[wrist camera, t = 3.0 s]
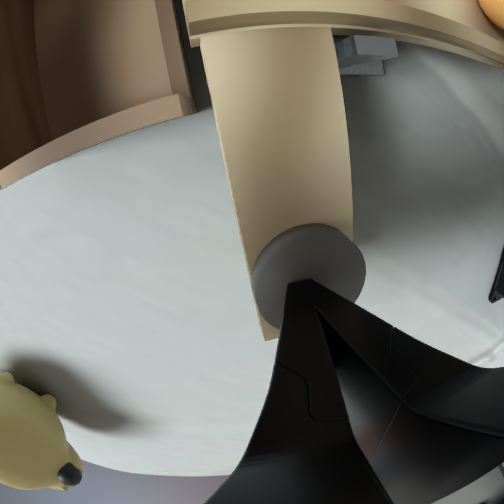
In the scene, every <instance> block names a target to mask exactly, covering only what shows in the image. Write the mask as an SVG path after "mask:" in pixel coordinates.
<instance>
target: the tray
mask: <svg viewBox="0 0 504 504" xmlns="http://www.w3.org/2000/svg"><path fill="white" fill-rule="evenodd" d="M195 113H197V112H196V108H195V103H194V98H193V94H192V89H191V84H190V79H189V75H188V70H187V65H186V60H185V55H184V50H183V45H182V40H181V35H180V30H179V24H178V19H177V14H176V8H175V3H174V0H0V190H2V189H4V188H6V187H7V186H9V185H11V184H13V183H14V182H16V181H18V180H20V179H22V178H24V177H26V176H28V175H30V174H32V173H34V172H36V171H38V170H40V169H42V168H44V167H46V166H48V165H50V164H52V163H54V162H56V161H59V160H61V159H63V158H65V157H68V156H70V155H72V154H74V153H77V152H79V151H81V150H84V149H86V148H89V147H91V146H94V145H96V144H99V143H102V142H104V141H107V140H110V139H112V138H115V137H118V136H121V135H124V134H126V133H129V132H132V131H135V130H138V129H142V128H145V127H148V126H151V125H155V124H158V123H161V122H165V121H168V120H172V119H176V118H180V117H183V116H187V115H191V114H195Z"/></svg>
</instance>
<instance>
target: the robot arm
mask: <svg viewBox="0 0 504 504" xmlns="http://www.w3.org/2000/svg"><path fill="white" fill-rule="evenodd" d="M501 298H504V250H503V254H502V258H501V262H500V265H499V268H498V272H497V275H496V278H495V281H494V285H493V288H492V290H491V293H490V296H489V301H490V302H491V303H494V302H496V301H498V300H500V299H501ZM204 504H504V367H500V368H482V367H478V366H474V365H472V364H469V363H467V362H465V361H462V360H460V359H458V358H456V357H453V356H451V355H449V354H447V353H444V352H442V351H440V350H438V349H435V348H433V347H431V346H429V345H427V344H425V343H423V342H421V341H419V340H417V339H415V338H413V337H412V336H410V335H408V334H406V333H404V332H403V331H401V330H399V329H397V328H396V327H394V328H393V326H392V325H390V324H389V323H387V322H385V321H384V320H382V319H380V318H378V317H377V316H375V315H373V314H372V313H370V312H368V311H366V310H365V309H363V308H361V307H360V306H358V305H356V304H354V303H353V302H351V301H349V300H348V299H346V298H344V297H342V296H341V295H339V294H337V293H335V292H334V291H332V290H330V289H329V288H327V287H325V286H323V285H322V284H320V283H318V282H316V281H315V280H313V279H311V278H308V279H304V280H300V281H296V282H292V283H288V284H287V289H286V295H285V302H284V308H283V315H282V321H281V327H280V333H279V339H278V345H277V351H276V357H275V364H274V367H273V373H272V378H271V382H270V386H269V390H268V394H267V397H266V400H265V403H264V406H263V409H262V411H261V414H260V416H259V419H258V422H257V424H256V427H255V429H254V432H253V434H252V437H251V439H250V442H249V444H248V446H247V449H246V451H245V453H244V455H243V457H242V459H241V461H240V462H239V464H238V466H237V467H236V469H235V470H234V471H233V472H232V474H231V475H230V476H229V477H228V478H227V479H226V480H225V481H224V483H223V484H222V485H221V486H220V487H219V488H218V489H217V490H216V491H215V492H214V493H213V494H212V496H211V497H210V498H209V499H208V500H207V501H206V502H205V503H204Z"/></svg>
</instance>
